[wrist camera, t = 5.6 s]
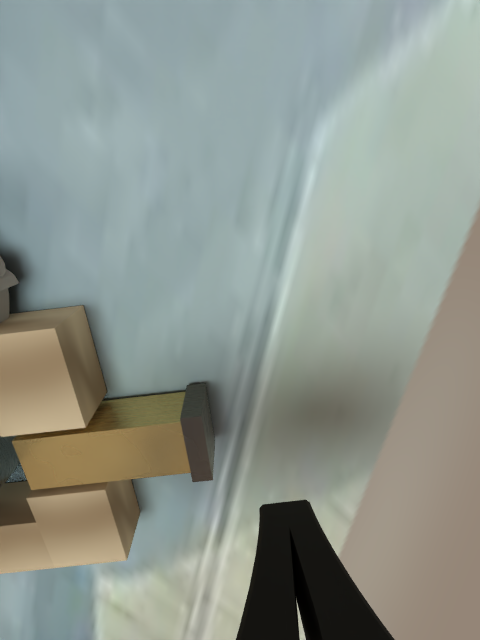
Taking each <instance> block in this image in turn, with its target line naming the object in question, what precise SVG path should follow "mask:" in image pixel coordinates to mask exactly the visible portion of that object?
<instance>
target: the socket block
mask: <svg viewBox="0 0 480 640" xmlns="http://www.w3.org/2000/svg"><path fill="white" fill-rule="evenodd" d="M106 393H107V390H106V386H105V383H104V379H103V375H102V372H101V368H100V364H99V361H98V357H97V354H96V350H95V346H94V343H93V339H92V335H91V332H90V328H89V325H88V321H87V317H86V314H85V310H84V306H83V305H82V306H74V307H65V308H56V309H48V310H39V311H31V312H22V313H14V314H9V318H8V319H6V320H5V321H3V322H1V323H0V436H1V437H7V436H15V435H24V434H33V433H42V432H51V431H60V430H69V429H78V428H86V426H87V425H88V423H89V421H90V420H91V418H92V416H93V415H94V413H95V411H96V410H97V408H98V406H99V405H100V403H101V401H102V400H103V398H104V396H105V395H106ZM139 515H140V510H139V506H138V502H137V499H136V495H135V491H134V488H133V484H132V481H131V479H128V480H119V481H110V482H101V483H92V484H82V485H73V486H64V487H55V488H46V489H37V490H31V488H30V485H29V483H28V481H22V482H13V483H5V484H4V485H3V486H2V487H1V489H0V574H2V573H12V572H21V571H31V570H40V569H49V568H59V567H68V566H78V565H87V564H96V563H106V562H115V561H125V560H127V558H128V555H129V551H130V548H131V544H132V540H133V537H134V533H135V529H136V526H137V522H138V519H139Z"/></svg>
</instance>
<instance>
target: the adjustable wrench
mask: <svg viewBox="0 0 480 640" xmlns="http://www.w3.org/2000/svg"><path fill="white" fill-rule="evenodd" d="M18 283H19V282H18V280H17V279H16V277H15V275H14V274H13V273H11V272H10V271H8V270H7V269H5V263H4V261H3V260H2V258H1V257H0V323H1V322H3V321H5V320H6V319H8V318H9V291H8V288H9V287H11V286H14V285H16V284H18Z"/></svg>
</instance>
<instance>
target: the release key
mask: <svg viewBox="0 0 480 640" xmlns="http://www.w3.org/2000/svg"><path fill="white" fill-rule="evenodd" d="M12 443H13V446H14V448H15V451H16V453H17V456H18V458H19V461H20V463H21V466H22V468H23V471H24V473H25V476H26V478H27V481H28V483H29V485H30V488H31V490H37V489H46V488H55V487H64V486H73V485H82V484H92V483H101V482H110V481H119V480H128V479H137V478H146V477H156V476H165V475H174V474H183V473H191V476H192V481H193V482H199V481H208V480H213V466H214V449H215V437H214V431H213V425H212V419H211V413H210V407H209V401H208V395H207V389H206V383H203V384H194V385H187V388H186V392H178V393H169V394H160V395H151V396H142V397H134V398H125V399H116V400H107V401H101V403H100V405H99V406H98V408H97V410H96V411H95V413H94V415H93V416H92V418H91V420H90V421H89V423H88V425H87V426H86V428H78V429H69V430H60V431H51V432H42V433H33V434H24V435H17V436H16V437H15V438H14V439H13V440H12Z"/></svg>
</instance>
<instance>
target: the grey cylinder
mask: <svg viewBox="0 0 480 640" xmlns="http://www.w3.org/2000/svg"><path fill="white" fill-rule="evenodd" d="M16 436H17V435H15V436H7V437H1V436H0V489H1V487H2V486H3V485H4V484H5V482H6V481H7V480H8V478H9V477H10V476H11V474H12V473H13V472H14V470H15V469H16V468H17V467H18V465H19V464H20V461H19V458H18V456H17V453H16V451H15V448H14V446H13V443H12V440H13V439H14V438H15V437H16Z"/></svg>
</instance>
